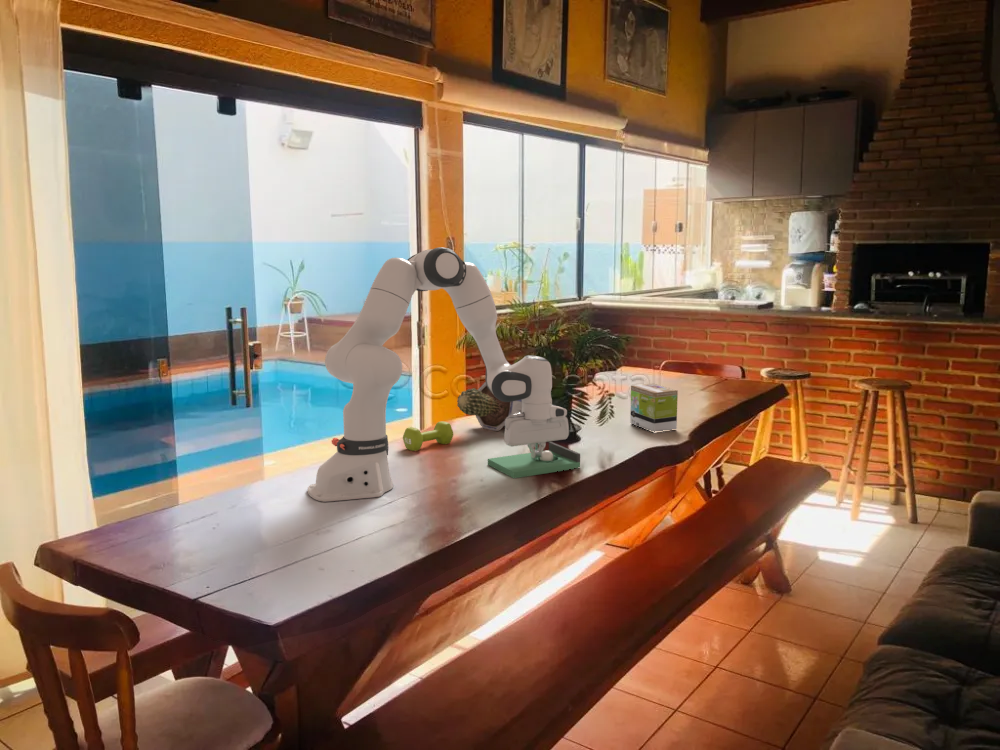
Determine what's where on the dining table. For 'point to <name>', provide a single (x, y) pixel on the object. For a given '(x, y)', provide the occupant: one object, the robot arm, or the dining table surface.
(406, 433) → the dumbbell
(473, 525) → the dining table surface
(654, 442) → the dining table surface
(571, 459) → the mat
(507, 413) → the potted plant
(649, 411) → the tea box
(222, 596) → the dining table surface
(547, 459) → the ball
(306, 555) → the dining table surface
